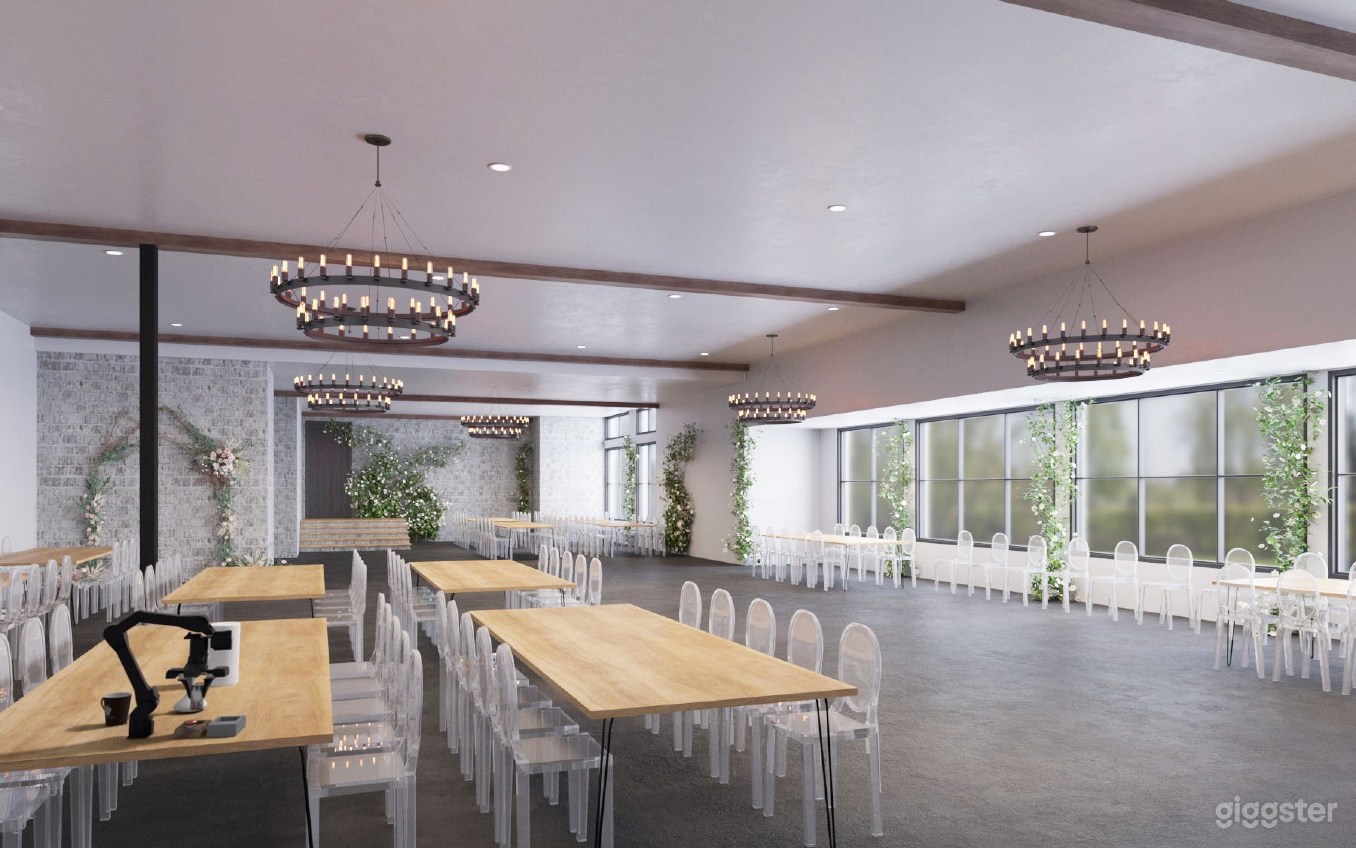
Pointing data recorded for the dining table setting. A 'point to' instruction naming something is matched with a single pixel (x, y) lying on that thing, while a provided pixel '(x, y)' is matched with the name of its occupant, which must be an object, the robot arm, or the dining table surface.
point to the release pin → (190, 723)
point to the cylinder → (226, 655)
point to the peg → (196, 697)
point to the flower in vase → (187, 701)
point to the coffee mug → (116, 708)
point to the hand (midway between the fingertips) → (196, 698)
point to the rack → (226, 726)
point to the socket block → (192, 730)
